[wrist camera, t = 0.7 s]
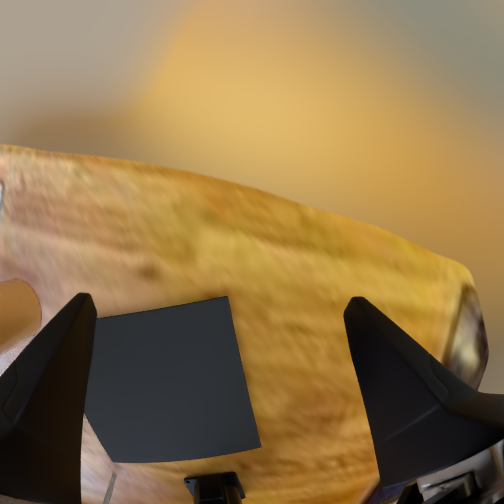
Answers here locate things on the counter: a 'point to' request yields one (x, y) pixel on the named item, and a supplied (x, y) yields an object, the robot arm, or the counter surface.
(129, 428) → the mat
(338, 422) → the counter surface
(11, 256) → the counter surface
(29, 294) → the jam jar
